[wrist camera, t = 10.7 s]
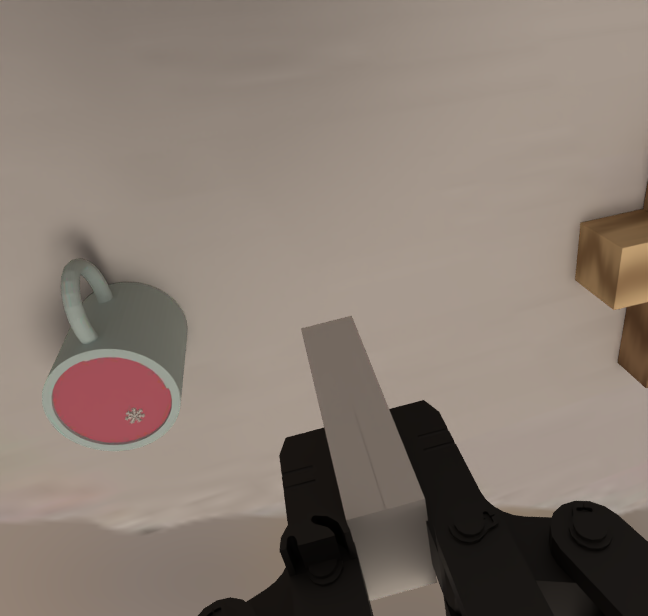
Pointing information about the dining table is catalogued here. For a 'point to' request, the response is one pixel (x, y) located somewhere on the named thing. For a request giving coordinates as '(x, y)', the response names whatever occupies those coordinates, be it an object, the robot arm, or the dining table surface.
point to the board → (636, 337)
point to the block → (615, 258)
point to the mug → (116, 363)
